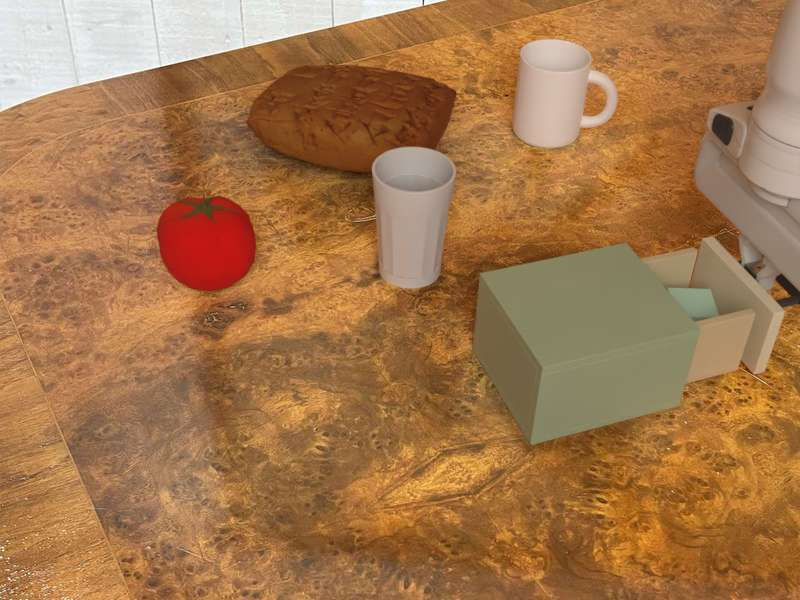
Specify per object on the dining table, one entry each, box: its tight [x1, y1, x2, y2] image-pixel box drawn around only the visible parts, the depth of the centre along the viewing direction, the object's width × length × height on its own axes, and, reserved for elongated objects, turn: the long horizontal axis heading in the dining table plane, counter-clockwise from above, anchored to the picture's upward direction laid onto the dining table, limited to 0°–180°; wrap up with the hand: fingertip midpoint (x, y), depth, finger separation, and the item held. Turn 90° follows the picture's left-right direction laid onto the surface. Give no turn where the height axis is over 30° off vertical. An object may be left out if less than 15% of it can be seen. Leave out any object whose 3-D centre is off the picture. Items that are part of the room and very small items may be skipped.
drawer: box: [640, 235, 800, 384], centre depth 97 cm, size 19×11×7 cm, turn 110°
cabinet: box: [471, 242, 701, 446], centre depth 94 cm, size 15×13×9 cm
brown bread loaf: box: [246, 64, 458, 174], centre depth 122 cm, size 22×17×8 cm
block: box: [667, 288, 719, 322], centre depth 97 cm, size 4×4×4 cm
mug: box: [511, 38, 619, 150], centre depth 126 cm, size 12×8×10 cm
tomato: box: [156, 195, 257, 292], centre depth 104 cm, size 9×10×8 cm
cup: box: [371, 147, 457, 290], centre depth 104 cm, size 8×8×12 cm
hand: (754, 282), depth 97 cm, fingers closed
